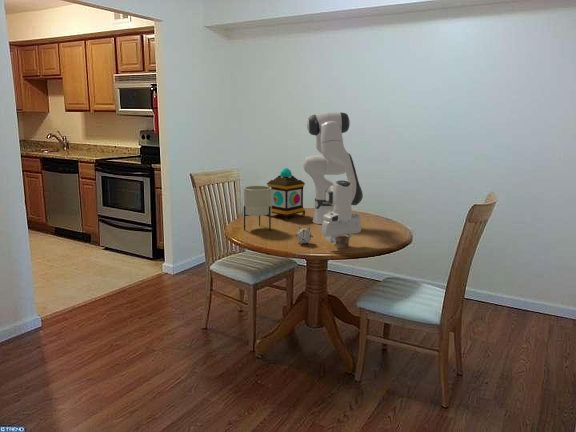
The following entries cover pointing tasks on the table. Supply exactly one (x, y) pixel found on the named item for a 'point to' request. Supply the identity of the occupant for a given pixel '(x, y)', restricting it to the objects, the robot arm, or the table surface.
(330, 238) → the grey block
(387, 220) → the table surface
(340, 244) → the walnut block
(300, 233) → the game die
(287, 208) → the decorative lantern
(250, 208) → the planter
